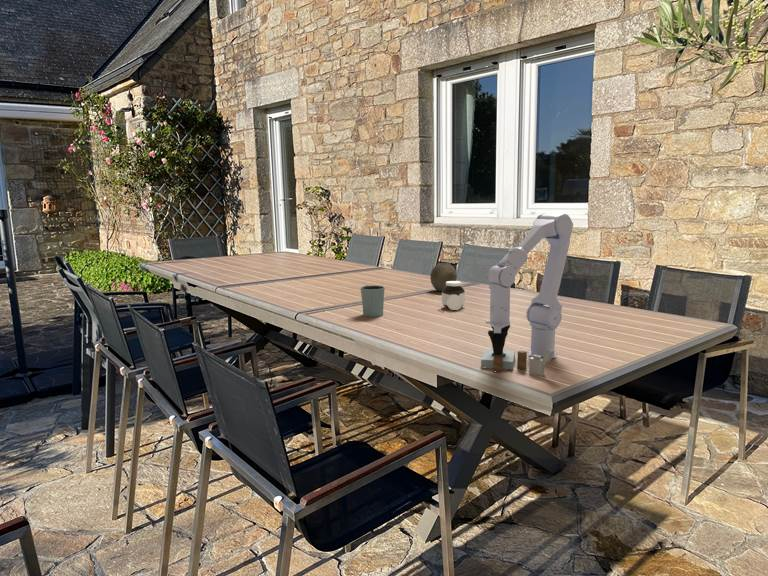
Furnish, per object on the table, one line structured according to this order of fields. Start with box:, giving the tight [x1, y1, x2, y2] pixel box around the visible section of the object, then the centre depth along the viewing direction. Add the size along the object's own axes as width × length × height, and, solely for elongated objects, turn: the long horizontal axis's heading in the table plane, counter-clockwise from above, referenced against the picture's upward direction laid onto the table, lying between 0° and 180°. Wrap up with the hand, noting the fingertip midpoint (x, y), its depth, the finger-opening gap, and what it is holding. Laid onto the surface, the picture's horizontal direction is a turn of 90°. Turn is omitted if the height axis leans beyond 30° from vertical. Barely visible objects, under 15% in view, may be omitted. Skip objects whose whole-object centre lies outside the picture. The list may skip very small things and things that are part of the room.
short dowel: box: [492, 356, 503, 373], centre depth 162 cm, size 3×3×4 cm
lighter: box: [528, 349, 555, 377], centre depth 158 cm, size 7×2×8 cm, turn 41°
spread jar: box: [441, 280, 466, 311], centre depth 253 cm, size 12×11×12 cm
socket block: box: [480, 348, 516, 371], centre depth 170 cm, size 12×9×2 cm
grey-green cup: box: [360, 284, 386, 318], centre depth 240 cm, size 10×10×12 cm
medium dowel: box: [516, 350, 528, 371], centre depth 164 cm, size 3×3×5 cm
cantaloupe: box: [429, 262, 458, 292], centre depth 299 cm, size 14×14×15 cm
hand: (498, 351), depth 170 cm, fingers open, 7 cm apart
